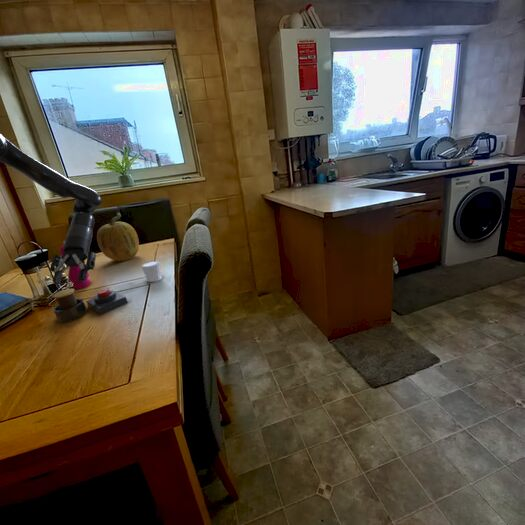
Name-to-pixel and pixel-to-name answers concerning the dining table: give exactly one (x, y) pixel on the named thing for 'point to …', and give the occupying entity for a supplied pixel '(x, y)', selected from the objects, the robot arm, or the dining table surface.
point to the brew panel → (106, 302)
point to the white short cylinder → (152, 271)
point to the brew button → (103, 293)
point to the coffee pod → (66, 299)
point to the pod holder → (70, 312)
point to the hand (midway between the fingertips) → (68, 282)
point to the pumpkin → (118, 240)
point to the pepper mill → (75, 274)
